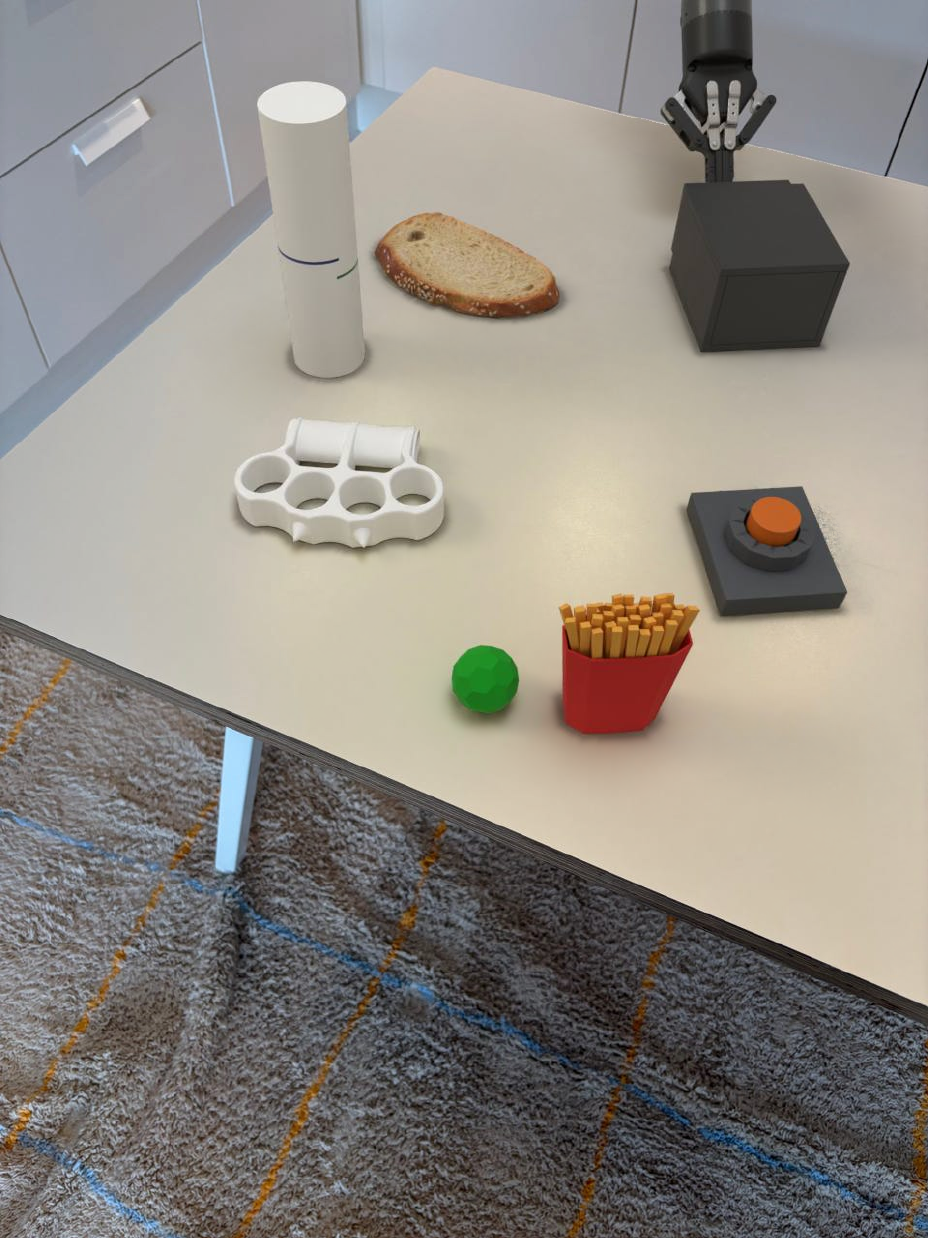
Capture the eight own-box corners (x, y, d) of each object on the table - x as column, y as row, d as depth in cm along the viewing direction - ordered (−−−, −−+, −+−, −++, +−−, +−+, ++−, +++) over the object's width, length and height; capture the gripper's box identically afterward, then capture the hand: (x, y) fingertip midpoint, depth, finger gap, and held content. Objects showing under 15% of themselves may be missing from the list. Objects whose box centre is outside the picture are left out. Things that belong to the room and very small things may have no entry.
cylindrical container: (284, 342, 101) (246, 89, 81) (351, 326, 103) (329, 75, 83) (306, 385, 97) (271, 130, 77) (375, 367, 99) (358, 113, 79)
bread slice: (567, 311, 105) (571, 280, 102) (401, 334, 102) (400, 303, 99) (520, 220, 116) (523, 189, 113) (368, 238, 113) (366, 208, 110)
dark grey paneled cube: (668, 269, 110) (685, 187, 103) (778, 264, 111) (803, 182, 104) (700, 352, 102) (721, 268, 94) (819, 346, 103) (850, 263, 95)
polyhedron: (519, 722, 74) (524, 687, 70) (454, 726, 74) (455, 691, 70) (512, 667, 77) (516, 631, 74) (449, 671, 77) (450, 634, 73)
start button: (740, 512, 83) (745, 497, 82) (787, 509, 83) (793, 494, 82) (753, 548, 81) (759, 533, 79) (801, 545, 81) (808, 530, 79)
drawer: (662, 228, 114) (675, 162, 108) (759, 224, 115) (777, 158, 108) (699, 323, 103) (716, 255, 97) (806, 318, 104) (829, 251, 98)
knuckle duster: (454, 448, 92) (436, 568, 83) (262, 432, 93) (224, 549, 84) (454, 420, 90) (436, 541, 81) (257, 404, 90) (217, 522, 81)
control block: (685, 509, 88) (695, 477, 85) (795, 503, 89) (808, 470, 86) (720, 617, 81) (731, 585, 78) (839, 608, 82) (855, 577, 78)
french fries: (659, 683, 77) (693, 575, 66) (670, 731, 74) (707, 626, 64) (541, 689, 76) (557, 581, 66) (548, 738, 74) (566, 633, 63)
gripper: (666, 7, 104) (671, 180, 107) (789, 4, 105) (791, 176, 108) (647, 39, 112) (652, 200, 114) (762, 37, 113) (764, 196, 115)
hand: (719, 188), depth 111 cm, fingers closed
